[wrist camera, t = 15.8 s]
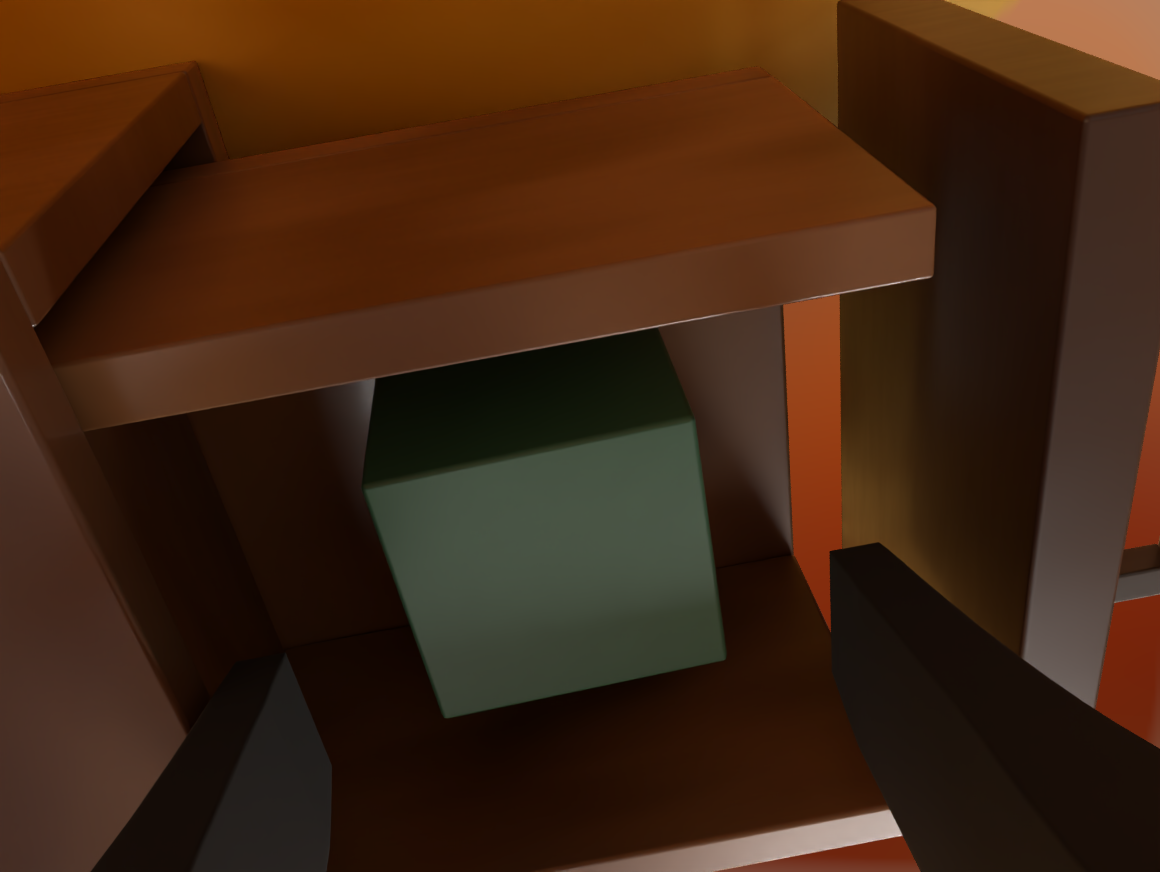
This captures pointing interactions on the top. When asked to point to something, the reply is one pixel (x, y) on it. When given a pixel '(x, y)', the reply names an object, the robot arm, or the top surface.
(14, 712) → the cabinet
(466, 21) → the top surface
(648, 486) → the block
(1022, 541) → the drawer
